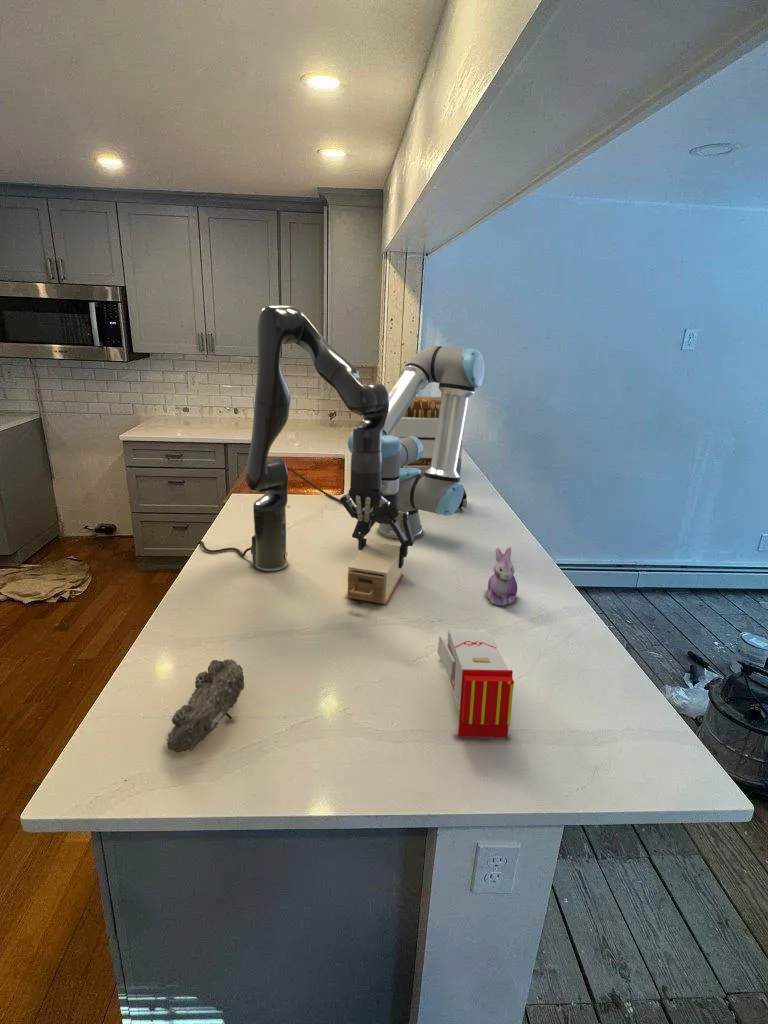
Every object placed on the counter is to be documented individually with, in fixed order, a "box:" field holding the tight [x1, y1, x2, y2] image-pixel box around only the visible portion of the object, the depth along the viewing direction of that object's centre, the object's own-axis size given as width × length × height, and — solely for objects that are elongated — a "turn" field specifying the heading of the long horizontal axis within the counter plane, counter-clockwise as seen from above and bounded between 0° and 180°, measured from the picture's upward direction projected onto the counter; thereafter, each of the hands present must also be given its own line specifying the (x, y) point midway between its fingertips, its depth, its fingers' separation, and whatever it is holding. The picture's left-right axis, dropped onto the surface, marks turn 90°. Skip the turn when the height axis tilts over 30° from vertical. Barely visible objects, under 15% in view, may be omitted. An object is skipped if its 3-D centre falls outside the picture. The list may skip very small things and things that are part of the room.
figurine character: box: [457, 489, 468, 512], centre depth 228 cm, size 7×8×15 cm
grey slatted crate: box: [389, 392, 465, 483], centre depth 268 cm, size 34×33×41 cm
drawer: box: [347, 571, 384, 604], centre depth 156 cm, size 23×10×7 cm, turn 165°
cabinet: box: [347, 541, 403, 605], centre depth 160 cm, size 18×11×9 cm, turn 165°
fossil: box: [166, 658, 245, 754], centre depth 106 cm, size 22×10×15 cm
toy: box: [437, 628, 515, 738], centre depth 117 cm, size 12×13×30 cm
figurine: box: [486, 546, 518, 606], centre depth 155 cm, size 9×10×15 cm
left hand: (364, 534), depth 143 cm, fingers closed
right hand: (382, 563), depth 166 cm, fingers closed on cabinet, 11 cm apart
